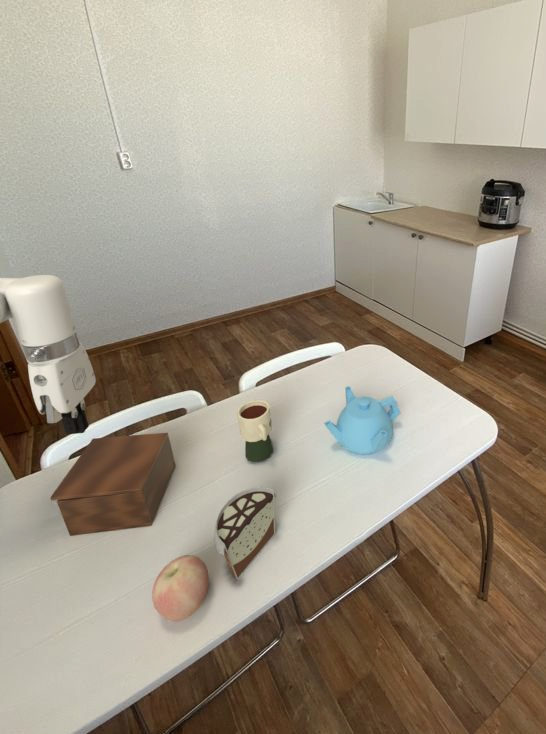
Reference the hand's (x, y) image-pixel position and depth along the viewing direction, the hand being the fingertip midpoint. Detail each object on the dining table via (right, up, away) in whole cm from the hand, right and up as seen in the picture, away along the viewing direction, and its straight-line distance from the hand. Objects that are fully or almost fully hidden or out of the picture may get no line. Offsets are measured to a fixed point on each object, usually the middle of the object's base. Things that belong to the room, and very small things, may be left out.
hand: (77, 430), depth 73 cm
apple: (+26, -23, -11) cm, 37 cm away
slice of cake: (+33, -20, -3) cm, 39 cm away
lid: (+5, -8, +4) cm, 10 cm away
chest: (+5, -17, +7) cm, 19 cm away
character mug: (+30, -13, +17) cm, 37 cm away
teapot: (+55, -11, +22) cm, 60 cm away
